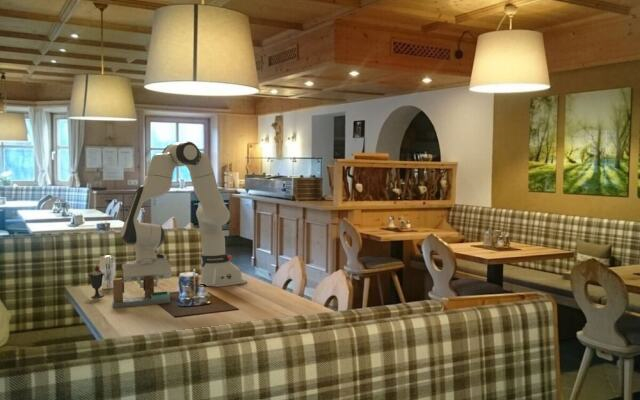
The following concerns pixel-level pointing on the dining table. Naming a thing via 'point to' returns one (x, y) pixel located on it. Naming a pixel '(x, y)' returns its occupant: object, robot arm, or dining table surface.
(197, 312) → the dining table surface
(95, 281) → the sundae
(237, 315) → the dining table surface
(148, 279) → the walnut finger
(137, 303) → the rail
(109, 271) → the white carton
